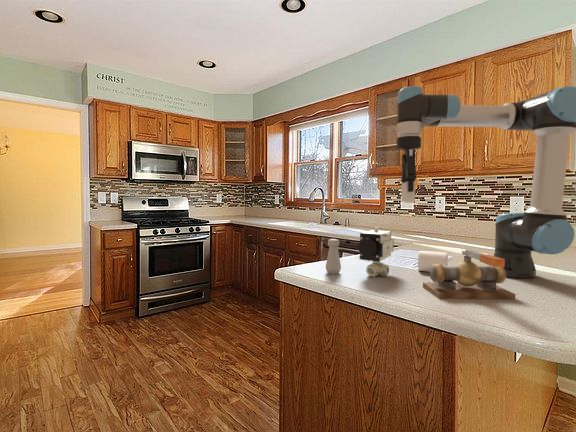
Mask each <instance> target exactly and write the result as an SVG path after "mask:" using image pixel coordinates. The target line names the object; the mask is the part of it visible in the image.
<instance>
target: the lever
mask: <svg viewBox="0 0 576 432" xmlns="http://www.w3.org/2000/svg"><path fill="white" fill-rule="evenodd" d="M461 255H463V256H469V257H471V259H475V260H478V261H479V263H483V264H485V265H487V266H489V265H491V266H493V267H504V264H505V259H502V258H499V257H496V256H493V255H494V254H489V253H488V254H485V253H483V252H479V251H477V250H473V249H461Z"/></svg>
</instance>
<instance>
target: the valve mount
mask: <svg viewBox="0 0 576 432" xmlns="http://www.w3.org/2000/svg"><path fill="white" fill-rule="evenodd" d="M429 276H430V280H431V281H432V282H422V288H423V289H425V290H426V291H428V293H430V294H432V295H433V296H434V297H436V298H437V299H455V300H457V299H461V300H462V299H465V300H472V299H473V300H516V293H513V292H511V291H509V290H507V289H505V288H503V287H500V286H498V285H497V284H504V283H505V281H506V279H507V277H506V271H505V269H504V267H493V266H489V265H487V266H486V265H485V266H483V265H482V266H481V265H478V264H476V263H475V262H473V261H472V257H469V256H466V255H463V261H460V262H458V263H457V264H456V265H448V266H442V265H441V264H432V266H431V267H430V272H429Z"/></svg>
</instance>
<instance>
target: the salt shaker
mask: <svg viewBox="0 0 576 432" xmlns="http://www.w3.org/2000/svg"><path fill="white" fill-rule="evenodd" d="M327 246H329V248H328V252H327V258H326V263H325V270H326V273H327V274H328V275H333V276H334V275H335V276H336V275H339V274H340V271H341V269H342V265H341V259H340V253H339V246H340V240H339V239H336V238H329V239H328V240H327Z"/></svg>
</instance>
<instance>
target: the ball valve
mask: <svg viewBox="0 0 576 432" xmlns="http://www.w3.org/2000/svg"><path fill="white" fill-rule="evenodd" d="M357 247H358V248H357V249H358V253H359V260H363V261H368V262H370V261H371V262H372V263H370V264H368V265H367V266H366V268H365V269H366V270H365V272H366V274H367V275H368V276H369V277H372V278H373V277H376V276H377V277H378V276H380V277H384V276H389V273H390V267H389V266H390V265H387V264H385V262H384V263H383V262H381V261H384V260H385V259H387V258H389V257H391V255H392V253H393V252H394V239H393V238H392V231H391V230H379V227H374V229H372V230H367V231H364V232H360V233H359V243H358V246H357Z"/></svg>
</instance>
